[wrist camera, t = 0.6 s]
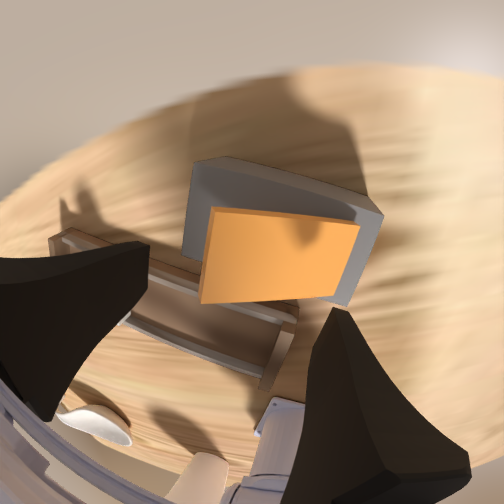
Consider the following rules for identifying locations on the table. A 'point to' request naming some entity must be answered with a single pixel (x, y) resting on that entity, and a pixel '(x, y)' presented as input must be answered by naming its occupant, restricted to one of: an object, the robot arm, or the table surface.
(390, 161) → the table surface
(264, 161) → the table surface
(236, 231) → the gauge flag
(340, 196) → the box
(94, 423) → the spoon rest
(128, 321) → the rail
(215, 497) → the foam cup
